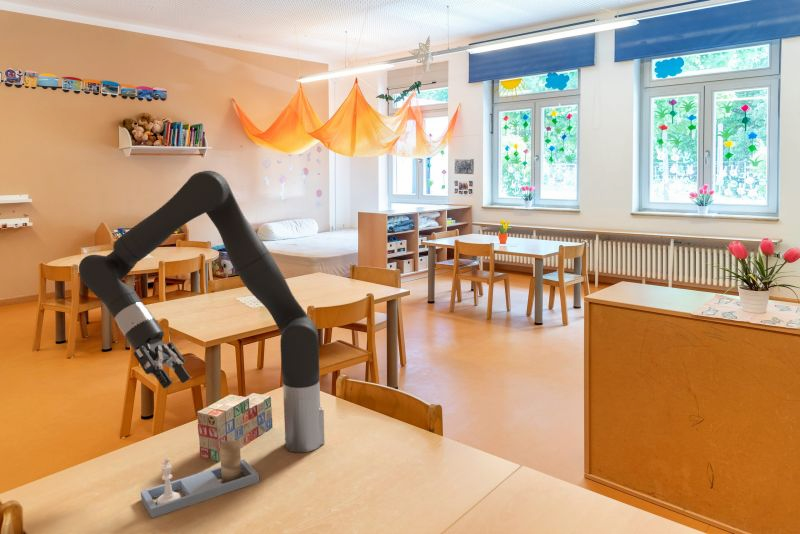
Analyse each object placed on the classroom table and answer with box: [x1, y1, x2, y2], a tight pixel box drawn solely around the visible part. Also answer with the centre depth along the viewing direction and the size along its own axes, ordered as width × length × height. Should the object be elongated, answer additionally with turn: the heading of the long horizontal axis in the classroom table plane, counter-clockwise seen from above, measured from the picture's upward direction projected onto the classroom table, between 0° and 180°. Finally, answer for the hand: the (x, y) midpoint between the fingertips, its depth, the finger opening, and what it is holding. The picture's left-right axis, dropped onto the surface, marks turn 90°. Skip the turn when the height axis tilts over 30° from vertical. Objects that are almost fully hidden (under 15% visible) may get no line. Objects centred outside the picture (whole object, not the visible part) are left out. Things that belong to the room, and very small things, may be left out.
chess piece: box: [156, 457, 182, 506], centre depth 130 cm, size 5×5×10 cm
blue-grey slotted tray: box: [140, 459, 260, 519], centre depth 134 cm, size 24×8×2 cm, turn 126°
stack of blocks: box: [196, 392, 273, 463], centre depth 157 cm, size 21×6×12 cm, turn 155°
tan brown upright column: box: [220, 440, 243, 484], centre depth 138 cm, size 4×4×9 cm
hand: (177, 383), depth 139 cm, fingers open, 8 cm apart
